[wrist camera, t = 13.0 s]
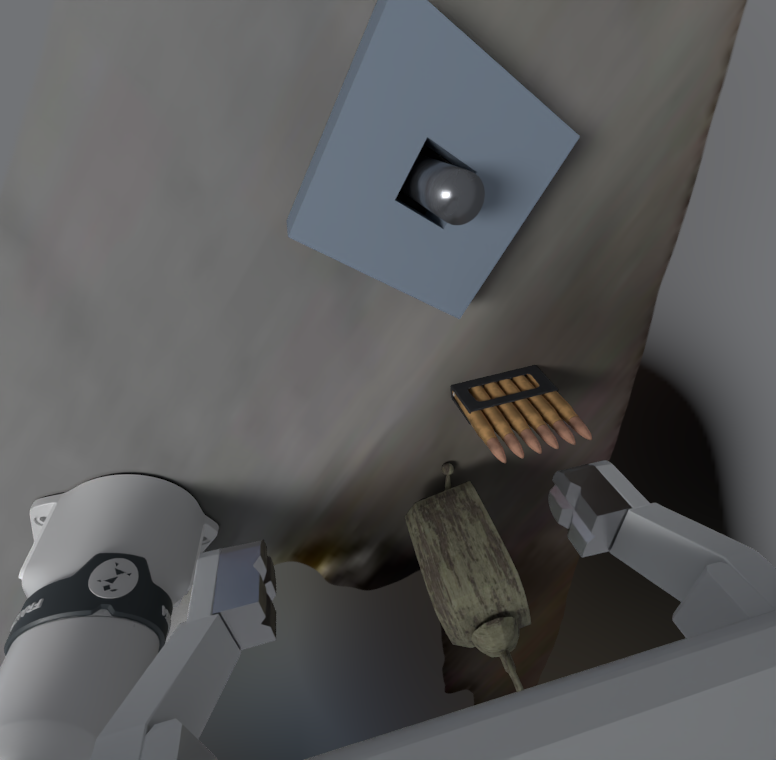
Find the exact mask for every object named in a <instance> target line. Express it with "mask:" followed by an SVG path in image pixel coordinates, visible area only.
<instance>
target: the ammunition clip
mask: <svg viewBox="0 0 776 760" xmlns="http://www.w3.org/2000/svg"><path fill="white" fill-rule="evenodd" d="M451 398H452V400H453V401H454V403H455V404H456V405H457V407H458V408H459V410H460V411H461V413H462V414H463V415H464V417H465V418H466V420H467V421H468V423H469V424H471V425H472V426H473V428H474V429H475V431H476V433H477V434H478V436H479V437H480V438H481V439H482V440H483V441H484V442H485V444H486V445H487V446H488V448H489V449H490V451H491V452H492V453H493V454H494V455H495V457H496V458H498V459H499V460H500V461H501V462H503V463H506V456H505V452H504V450H503V448H502V446H501V444H500V442H499V441H498V439H497V437H496V435H495V433H494V431H495V432H496V433H497V434H498V435H499V436H500V437H501V438H502V440H503V441H504V442H505V443H506V445H507V446H508V447H509V448H510V449H511V451H512V452H513V453H515V454H516V455H517V456H518V457H520V458H524V452H523V449H522V447H521V444H520V443H519V441H518V439H517V438H516V436H515V434H514V433H513V431H512V430H511V428H512V429H513V430H514V431H516V432H517V433H518V434H519V436H520V437H521V438H522V439H523V440H524V442H525V443H526V444H527V445H528V446H529V447H530V448H531V449H533V450H534V451H535V452H537V453H539V454H541V453H542V450H541V446H540V444H539V442H538V440H537V438H536V436H535V435H534V434H533V432H532V431H531V429H530V428H529V426H530V427H532V428H533V429H534V430H535V431H536V433H538V434H539V436H540V437H541V438H542V439H543V440H544V441H545V442H546V443H547V444H549V445H550V446H551V447H553V448H555V449H559V446H558V442H557V440H556V438H555V436H554V435H553V433H552V431H551V430H550V429H549V428H548V426H547V425H546V423H547V424H549V425H550V426H551V427H552V429H554V430H555V431H556V432H557V434H558V435H560V436H561V437H562V438H563V439H564V440H566V441H567V442H569V443H571V444H573V445H575V444H576V442H575V439H574V436H573V434H572V433H571V431H570V430H569V428H568V427H567V426H566V424H565V423H564V422H563V420H564V421H565V422H566V423H567V424H568V425H570V426H571V427H572V428H573V429H574V430H575V431H576V432H577V433H578V434H580V435H581V436H583V437H584V438H586V439H588V440H592V435H591V433H590V431H589V430H588V428H587V426H586V425H585V424H584V422H583V421H582V420H581V419H580V418H579V416H578V415H577V414H576V413H575V412H574V410H573V409H572V407H571V406H570V405H569V404H568V403H567V402H566V401H565V399H564V398H563V397H562V396H561V395H560V394H559V393H558V389H557V387H556V386H555V385H554V384H553V383H552V382H551V381H550V380H549V379H548V378H547V377H546V375H545V374H544V373H543V372H542V371H541V370H540V369H539V368H538V367H537V366H536V365H533V366H529V367H524V368H520V369H516V370H512V371H508V372H504V373H500V374H495V375H491V376H487V377H483V378H479V379H475V380H470V381H466V382H462V383H458V384H454V385H451ZM562 419H563V420H562ZM544 421H545V422H546V423H545V422H544ZM527 424H528V425H529V426H528V425H527ZM510 426H511V427H510ZM493 429H494V430H493Z"/></svg>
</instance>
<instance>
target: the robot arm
mask: <svg viewBox="0 0 776 760" xmlns="http://www.w3.org/2000/svg"><path fill="white" fill-rule="evenodd" d="M552 481H553V482H554V483H555V486H554V487H553V488H552V489H551V490H550V492H549V497H548V501H549V506H550V510H551V512H552V514H553V516H554V518H555V519H556V521H557V522H558V523H559V524H560V525H562V526H564V527H566V528H567V529H568V535H567V537H568V538H569V540H570V541H571V543H572V544H573V546H574V547H575V548H576V550H577V551H578V553H579V554H580V556H581V557H586V556H591V555H595V554H599V553H603V552H608V551H610V553H611V554H612V555H614V556H615V557H617V558H618V559H620V560H621V561H622V562H624V563H625V564H627V565H628V566H630V567H631V568H633V569H634V570H636V571H637V572H638V573H640V574H641V575H643V576H644V577H646V578H647V579H649V580H650V581H652V582H653V583H654V584H656V585H658V586H659V587H660V588H662V589H663V590H665V591H666V592H668V593H669V594H670V595H672V596H673V597H675V598H676V599H678V600H679V601H681V604H680V605H679V606H678V608H677V609H676V611H675V612H674V614H673V619H672V620H673V621H674V623H675V624H676V626H677V627H678V628H679V629H680V631H681V632H682V633H683V635H684V636H685V637H686V639H683V640H680V641H676V642H673V643H670V644H667V645H664V646H661V647H657V648H654V649H651V650H648V651H645V652H642V653H639V654H635V655H632V656H629V657H626V658H623V659H620V660H616V661H613V662H611V663H607V664H604V665H601V666H598V667H595V668H591V669H589V670H585V671H582V672H579V673H576V674H572V675H570V676H566V677H563V678H560V679H557V680H554V681H550V682H547V683H544V684H541V685H538V686H535V687H532V688H528V689H525V690H522V691H519V692H516V693H513V694H510V695H506V696H503V697H500V698H497V699H494V700H491V701H487V702H484V703H481V704H478V705H475V706H472V707H469V708H466V709H462V710H460V711H456V712H453V713H450V714H447V715H443V716H441V717H437V718H434V719H431V720H428V721H425V722H421V723H418V724H415V725H412V726H409V727H406V728H403V729H399V730H396V731H393V732H390V733H387V734H384V735H381V736H377V737H374V738H371V739H368V740H365V741H362V742H358V743H355V744H352V745H349V746H346V747H343V748H340V749H337V750H333V751H330V752H327V753H324V754H321V755H318V756H314V757H311V758H308V759H305V760H776V568H775V567H774V566H773V565H771V564H770V563H769V562H768V561H767V560H766V559H765V558H764V557H763V556H762V555H761V554H760V553H758V552H757V551H756V550H755V549H752V548H750V547H748V546H746V545H744V544H742V543H740V542H737V541H735V540H733V539H731V538H729V537H727V536H725V535H723V534H720V533H718V532H716V531H714V530H712V529H710V528H707V527H705V526H703V525H701V524H699V523H697V522H695V521H693V520H691V519H688V518H686V517H684V516H682V515H680V514H678V513H676V512H674V511H671V510H669V509H667V508H665V507H663V506H661V505H659V504H657V503H652V504H650V503H649V502H648V501H647V500H646V499H645V498H644V497H643V496H642V495H641V494H640V493H639V492H638V490H637V489H636V488H635V487H634V486H632V484H631V483H630V482H629V481H628V480H627V479H626V478H625V477H624V476H623V475H622V474H621V473H620V472H619V471H618V470H617V469H616V467H615V466H614V465H613V464H612V463H610V462H608V461H606V460H605V461H599V462H595V463H592V464H585V465H581V466H577V467H573V468H569V469H565V470H561V471H557V472H556V473H555V474H554V477H553V480H552ZM30 519H31V525H32V532H33V538H34V544H33V546H32V548H31V550H30V552H29V554H28V556H27V558H26V560H25V562H24V564H23V566H22V568H21V571H20V573H19V578H20V579H21V580H22V588H23V590H24V592H25V594H26V596H27V598H28V599H27V600H26V602H25V604H24V606H23V608H22V610H21V612H20V614H18V616H17V617H16V619H15V621H14V623H13V625H12V627H11V629H10V631H11V632H10V634H9V637H8V639H7V641H6V644H5V647H4V653H5V656H6V657H5V659H4V661H3V663H2V665H1V667H0V760H218V759H217V758H216V757H215V756H214V755H213V754H212V753H211V752H210V751H209V750H208V749H207V748H206V747H205V746H204V745H203V744H202V743H201V742H200V741H199V740H198V738H199V737H200V735H201V733H202V730H203V728H204V726H205V724H206V723H207V720H208V719H209V717H210V715H211V713H212V710H213V709H214V706H215V705H216V702H217V700H218V698H219V696H220V694H221V692H222V690H223V688H224V686H225V684H226V682H227V680H228V678H229V676H230V674H231V672H232V670H233V668H234V666H235V664H236V662H237V660H238V658H239V656H240V654H241V651H240V650H244V649H247V648H250V647H254V646H257V645H261V644H264V643H267V642H271V641H274V640H276V610H275V608H274V605H273V603H272V600H273V599H274V597H275V595H276V578H275V570H274V566H273V562H272V559H271V557H269V556H267V546H266V544H265V542H264V540H259V541H255V542H250V543H245V544H240V545H236V546H231V547H226V548H221V549H216V550H212V551H207V552H204V550H205V549H206V548H207V547H208V546H209V545H210V543H211V542H212V541H213V540H214V539H215V538H216V536H217V534H218V531H219V526H218V524H217V523H216V522H214V521H213V520H212V519H210V518H209V517H207V516H206V515H205V514H204V513H203V511H202V510H201V508H200V506H199V504H198V502H197V501H196V500H195V498H194V497H193V496H192V495H191V494H190V493H188V492H187V491H186V490H184V489H183V488H181V487H179V486H177V485H175V484H173V483H171V482H168V481H166V480H163V479H159V478H155V477H151V476H145V475H134V474H121V475H110V476H104V477H100V478H96V479H93V480H90V481H87V482H85V483H82V484H80V485H78V486H77V487H75V488H73V489H71V490H70V491H68V492H65V493H63V494H58V495H53V496H48V497H44V498H40V499H38V500H36V501H34V502H33V504H32V507H31V509H30ZM192 585H193V587H192ZM191 588H192V593H191V599H190V605H189V610H188V616H187V621H186V622H183V623H180V624H179V625H178V627H177V628H176V630H175V631H174V632H173V634H172V635H171V636H170V638H169V639H168V641H167V642H166V643H165V641H166V638H167V636H168V633H169V629H170V625H171V615H172V610H173V607H177V606H178V605H179V604H180V602H181V600H182V597H183V596H184V595H187V593H188V592H189V590H190V589H191Z"/></svg>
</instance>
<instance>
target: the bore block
mask: <svg viewBox="0 0 776 760" xmlns="http://www.w3.org/2000/svg"><path fill="white" fill-rule="evenodd" d="M579 137H580V136H579V135H578V134H577V133H576V132H575V131H573V130H572V129H571V128H570V127H569V126H568V125H567V124H566V123H564V122H563V121H562V120H561V119H560V118H559V117H558V116H557V115H555V114H554V113H553V112H552V111H551V110H550V109H549V108H548V107H546V106H545V105H544V104H543V103H542V102H541V101H540V100H539V99H537V98H536V97H535V96H534V95H533V94H532V93H531V92H530V91H529V90H527V89H526V88H525V87H524V86H523V85H522V84H521V83H520V82H518V81H517V80H516V79H515V78H514V77H513V76H512V75H511V74H509V73H508V72H507V71H506V70H505V69H504V68H503V67H502V66H500V65H499V64H498V63H497V62H496V61H495V60H494V59H493V58H491V57H490V56H489V55H488V54H487V53H486V52H485V51H484V50H482V49H481V48H480V47H479V46H478V45H477V44H476V43H475V42H473V41H472V40H471V39H470V38H469V37H468V36H467V35H466V34H464V33H463V32H462V31H461V30H460V29H459V28H458V27H457V26H455V25H454V24H453V23H452V22H451V21H450V20H449V19H448V18H447V17H445V16H444V15H443V14H442V13H441V12H440V11H439V10H438V9H436V8H435V7H434V6H433V5H432V4H431V3H430V2H429V1H427V0H378V1H377V3H376V6H375V8H374V10H373V13H372V15H371V18H370V20H369V23H368V25H367V27H366V30H365V32H364V35H363V37H362V40H361V42H360V44H359V47H358V49H357V52H356V54H355V56H354V59H353V61H352V64H351V66H350V69H349V71H348V73H347V76H346V78H345V81H344V83H343V86H342V88H341V90H340V93H339V95H338V98H337V100H336V102H335V105H334V107H333V110H332V112H331V115H330V117H329V119H328V122H327V124H326V127H325V129H324V132H323V134H322V136H321V139H320V141H319V144H318V146H317V148H316V151H315V153H314V156H313V158H312V161H311V163H310V165H309V168H308V170H307V173H306V175H305V178H304V180H303V182H302V185H301V187H300V190H299V192H298V194H297V197H296V199H295V202H294V204H293V207H292V209H291V211H290V214H289V216H288V219H287V230H288V237H289V238H291V239H293V240H296V241H298V242H300V243H302V244H304V245H306V246H308V247H310V248H312V249H314V250H316V251H318V252H321V253H323V254H325V255H327V256H329V257H331V258H333V259H335V260H337V261H339V262H341V263H343V264H346V265H348V266H350V267H352V268H354V269H356V270H358V271H360V272H362V273H364V274H366V275H368V276H371V277H373V278H375V279H377V280H379V281H381V282H383V283H385V284H387V285H389V286H391V287H393V288H396V289H398V290H400V291H402V292H404V293H406V294H408V295H410V296H412V297H414V298H416V299H418V300H421V301H423V302H425V303H427V304H429V305H431V306H433V307H435V308H437V309H439V310H441V311H443V312H446V313H448V314H450V315H452V316H454V317H456V318H458V319H460V318H461V316H462V315H463V313H464V312H465V310H466V309H467V307H468V306H469V304H470V303H471V301H472V300H473V298H474V296H475V295H476V293H477V292H478V290H479V289H480V287H481V286H482V284H483V283H484V281H485V280H486V278H487V277H488V275H489V274H490V272H491V271H492V269H493V268H494V266H495V265H496V263H497V262H498V260H499V259H500V257H501V256H502V254H503V253H504V251H505V250H506V248H507V246H508V245H509V243H510V242H511V240H512V239H513V237H514V236H515V234H516V233H517V231H518V230H519V228H520V227H521V225H522V224H523V222H524V221H525V219H526V218H527V216H528V215H529V213H530V212H531V210H532V209H533V207H534V206H535V204H536V203H537V201H538V200H539V198H540V196H541V195H542V193H543V192H544V190H545V189H546V187H547V186H548V184H549V183H550V181H551V180H552V178H553V177H554V175H555V174H556V172H557V171H558V169H559V168H560V166H561V165H562V163H563V162H564V160H565V159H566V157H567V156H568V154H569V153H570V151H571V150H572V148H573V146H574V145H575V143H576V142H577V140H578V139H579ZM423 144H425V145H426V146H427V147H429V148H430V149H432V150H433V151H435V152H436V153H438V154H439V155H440V156H442V157H443V158H445V159H446V160H448V161H449V162H451V163H452V165H454V166H457V167H459V168H462V169H465V170H468V171H471V172H473V173H475V174H476V175H477V176H479V178H480V179H481V181H482V183H483V185H484V190H485V198H484V203H483V206H482V208H481V210H480V212H479V213H478V215H477V216H476V217H475V218H474V219H473V220H471V221H470V222H468V223H466V224H463V225H451V224H449V223H447V222H445V221H444V220H442V219H441V218H440V217H438V216H437V215H435V214H434V213H432V212H431V211H429V210H428V209H427V211H426V213H425V215H423V214H422V213H420V212H418V211H417V210H415V209H413V208H412V207H410V206H408V205H407V204H405V203H403V202H402V201H400V200H398V199H397V198H396V197H397V195H398V193H399V191H400V189H401V187H402V185H403V183H404V181H405V179H406V177H407V176H408V174H409V172H410V170H411V168H412V166H413V164H414V162H415V160H416V158H417V156H418V154H419V152H420V150H421V148H422V146H423Z"/></svg>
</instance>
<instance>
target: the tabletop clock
mask: <svg viewBox="0 0 776 760" xmlns="http://www.w3.org/2000/svg"><path fill="white" fill-rule="evenodd" d="M453 471H454V467H453V465H452V464H450V463H445V464H443V465H442V472H443V474H445V475H446V481H445V491H443V492H441V493H438V494H436V495H433V496H431V497H428V498H426V499H422V500H420V501H418V502H416V503H415V504H414V505H413V506H412V508H411V509H410V510H409V512H408V513H407V514H406V516H405V520H406V524H407V527H408V530H409V534H410V537H411V540H412V543H413V547H414V550H415V553H416V556H417V559H418V562H419V566H420V569H421V572H422V575H423V578H424V581H425V584H426V587H427V590H428V593H429V596H430V599H431V602H432V605H433V607H434V609H435V612H436V614H437V616H438V618H439V620H440V622H441V624H442V626H443V628H444V630H445V632H446V634H447V635H448V637H449V639H450V640H451V642H452V644H454V645H459V646H464V647H470V648H472V647H475V646H476V647H477V648H478V649H479V650H480V651H481V652H483V653H485V654H487V655H489V656H491V657H499V656H500V658H501V661H502V663H503V665H504V668H505V670H506V672H508V673H509V675H510V677H511V679H512V681H513V683H514V686H515V688H516V690H517V692H519V691H522V690H524V689H523V687H522V685H521V683H520V680H519V678H518V676H517V674H516V672H515V669H516V667H515V664H514V662H513V660H512V657H511V655H510V653H509V652H511V651H512V650H513V649H514V648H515V647H516V644H517V642H518V638H519V628H522V627H524V626H527V625H529V624H531V619H530V613H529V608H528V604H527V600H526V596H525V592H524V589H523V586H522V583H521V580H520V578H519V575H518V572H517V570H516V568H515V566H514V564H513V562H512V560H511V558H510V556H509V554H508V551H507V549H506V547H505V545H504V543H503V541H502V539H501V537H500V536H499V534H498V532H497V530H496V528H495V526H494V524H493V522H492V520H491V518H490V516H489V514H488V512H487V510H486V509H485V507H484V505H483V503H482V501H481V499H480V497H479V495H478V494H477V492H476V490H475V488H474V487H473V485H472V483H471V482H470V481H468V482H466V483H463V484H461V485H458V486H456V487H453V488H451V480H450V475H451V474H452V473H453Z"/></svg>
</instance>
